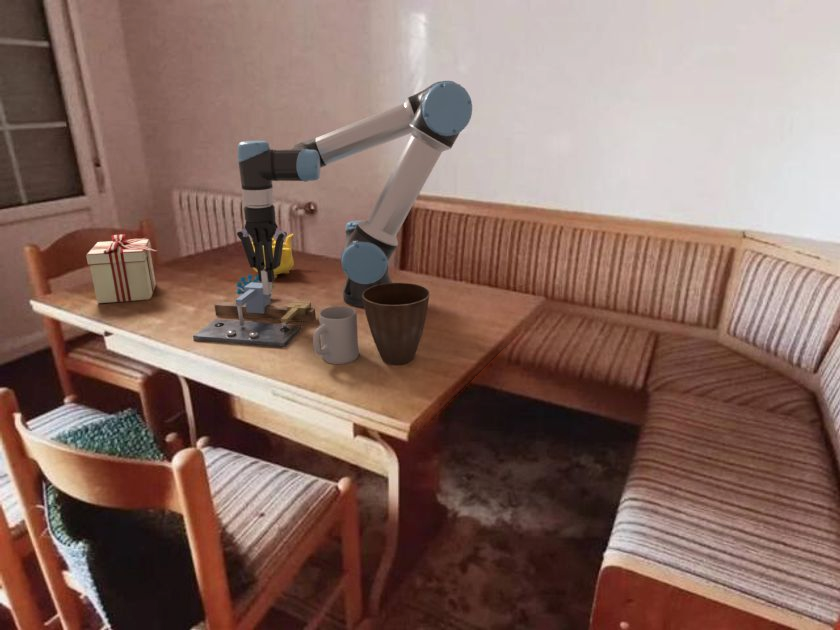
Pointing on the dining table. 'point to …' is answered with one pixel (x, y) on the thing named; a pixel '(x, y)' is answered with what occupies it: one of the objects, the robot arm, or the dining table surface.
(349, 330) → the mug
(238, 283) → the gear
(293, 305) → the fixed leg
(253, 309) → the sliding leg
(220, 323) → the hole plate
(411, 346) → the plant pot
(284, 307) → the beam
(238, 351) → the dining table surface
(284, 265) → the teapot
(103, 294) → the gift box
